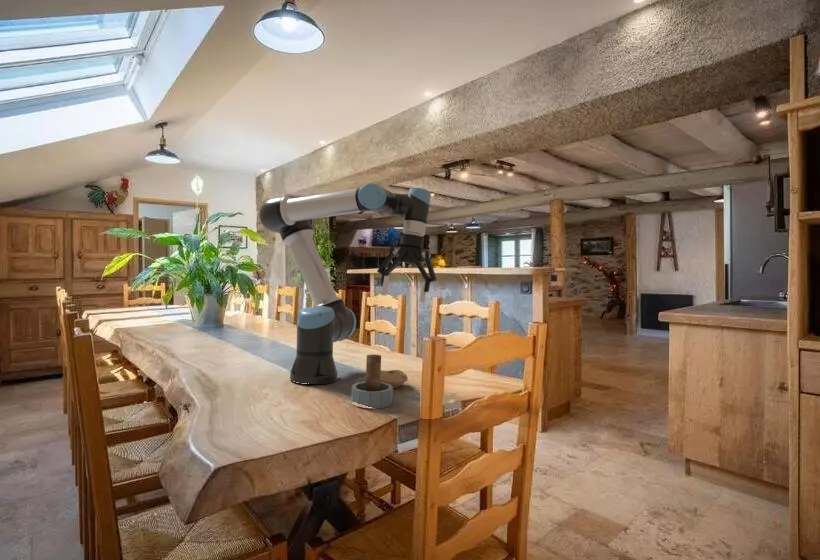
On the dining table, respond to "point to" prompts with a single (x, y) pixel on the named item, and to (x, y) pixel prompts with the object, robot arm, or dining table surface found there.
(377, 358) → the brown cylinder
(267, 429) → the dining table surface
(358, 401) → the grey plastic ring
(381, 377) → the pottery oil lamp
